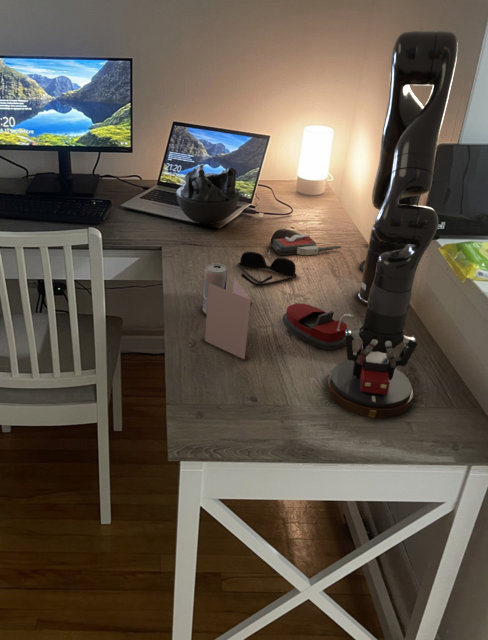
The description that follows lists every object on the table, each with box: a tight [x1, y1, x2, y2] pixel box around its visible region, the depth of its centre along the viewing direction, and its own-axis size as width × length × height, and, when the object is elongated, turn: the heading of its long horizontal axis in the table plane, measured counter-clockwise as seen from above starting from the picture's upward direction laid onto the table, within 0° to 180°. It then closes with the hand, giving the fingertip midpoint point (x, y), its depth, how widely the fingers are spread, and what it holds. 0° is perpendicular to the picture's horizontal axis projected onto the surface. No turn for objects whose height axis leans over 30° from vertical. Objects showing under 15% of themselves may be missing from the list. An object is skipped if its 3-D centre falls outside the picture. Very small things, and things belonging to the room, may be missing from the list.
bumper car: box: [282, 302, 356, 351], centre depth 159 cm, size 10×20×10 cm, turn 32°
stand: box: [326, 370, 414, 419], centre depth 141 cm, size 17×17×2 cm
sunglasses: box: [237, 251, 298, 287], centre depth 185 cm, size 17×14×5 cm
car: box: [331, 352, 413, 407], centre depth 138 cm, size 16×16×6 cm
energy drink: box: [202, 263, 228, 315], centre depth 167 cm, size 5×5×12 cm
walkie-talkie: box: [272, 233, 342, 256], centre depth 203 cm, size 9×4×20 cm
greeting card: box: [204, 276, 253, 360], centre depth 152 cm, size 11×7×15 cm, turn 12°
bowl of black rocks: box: [176, 164, 240, 225], centre depth 217 cm, size 20×20×19 cm
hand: (371, 377), depth 139 cm, fingers closed on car, 5 cm apart
